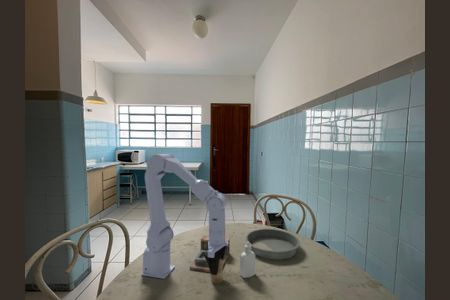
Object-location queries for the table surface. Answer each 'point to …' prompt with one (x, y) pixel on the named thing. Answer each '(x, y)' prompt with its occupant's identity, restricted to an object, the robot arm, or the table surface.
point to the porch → (200, 260)
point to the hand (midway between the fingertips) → (217, 268)
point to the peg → (218, 274)
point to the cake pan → (273, 243)
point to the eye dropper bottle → (247, 262)
